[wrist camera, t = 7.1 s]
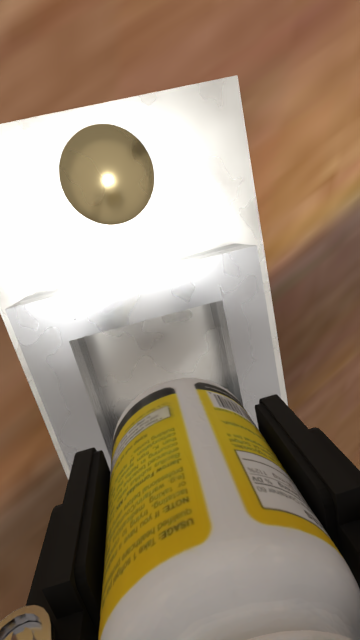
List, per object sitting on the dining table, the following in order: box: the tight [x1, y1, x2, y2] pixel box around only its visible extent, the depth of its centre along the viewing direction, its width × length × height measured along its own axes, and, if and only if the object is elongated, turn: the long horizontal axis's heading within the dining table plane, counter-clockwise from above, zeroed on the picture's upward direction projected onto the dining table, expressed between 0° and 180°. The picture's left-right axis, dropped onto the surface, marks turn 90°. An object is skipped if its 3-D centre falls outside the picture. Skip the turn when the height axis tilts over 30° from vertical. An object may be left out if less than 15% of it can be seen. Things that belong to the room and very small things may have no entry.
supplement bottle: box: [98, 378, 360, 640], centre depth 7 cm, size 5×5×8 cm
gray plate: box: [0, 76, 288, 480], centre depth 17 cm, size 26×14×4 cm, turn 13°
